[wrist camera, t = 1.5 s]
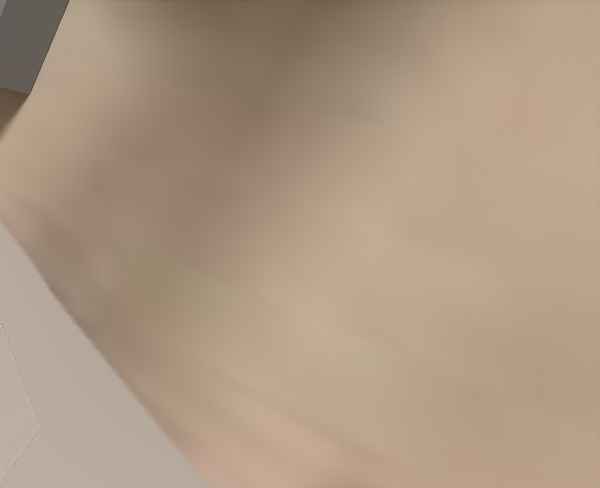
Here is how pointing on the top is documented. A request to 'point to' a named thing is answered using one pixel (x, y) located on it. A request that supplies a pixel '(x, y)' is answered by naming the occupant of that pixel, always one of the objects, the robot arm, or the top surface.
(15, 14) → the switch box
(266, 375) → the top surface
